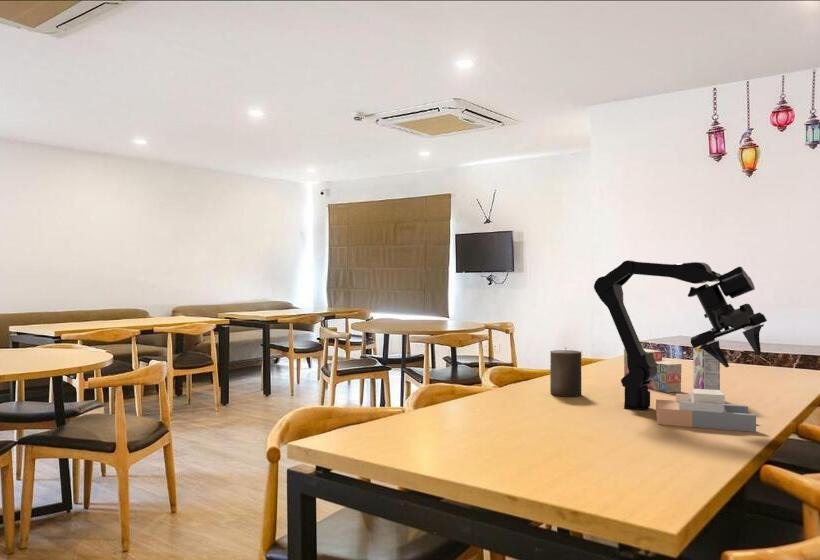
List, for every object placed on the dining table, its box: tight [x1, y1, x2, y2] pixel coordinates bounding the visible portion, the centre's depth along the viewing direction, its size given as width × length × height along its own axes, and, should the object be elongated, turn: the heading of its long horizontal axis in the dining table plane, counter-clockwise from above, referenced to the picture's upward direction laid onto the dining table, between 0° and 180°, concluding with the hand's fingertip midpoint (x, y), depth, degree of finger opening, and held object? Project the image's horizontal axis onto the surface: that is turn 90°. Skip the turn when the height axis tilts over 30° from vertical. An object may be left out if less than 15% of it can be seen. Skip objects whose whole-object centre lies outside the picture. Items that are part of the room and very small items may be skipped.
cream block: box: [690, 388, 726, 411], centre depth 154 cm, size 7×7×4 cm
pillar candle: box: [549, 347, 582, 398], centre depth 191 cm, size 10×10×15 cm
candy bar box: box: [692, 346, 721, 390], centre depth 182 cm, size 11×5×16 cm, turn 168°
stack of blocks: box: [623, 347, 682, 393], centre depth 205 cm, size 21×6×12 cm, turn 18°
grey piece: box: [655, 399, 757, 433], centre depth 154 cm, size 22×12×4 cm, turn 70°
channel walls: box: [675, 393, 724, 413], centre depth 155 cm, size 10×11×2 cm
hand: (743, 361), depth 154 cm, fingers open, 9 cm apart
